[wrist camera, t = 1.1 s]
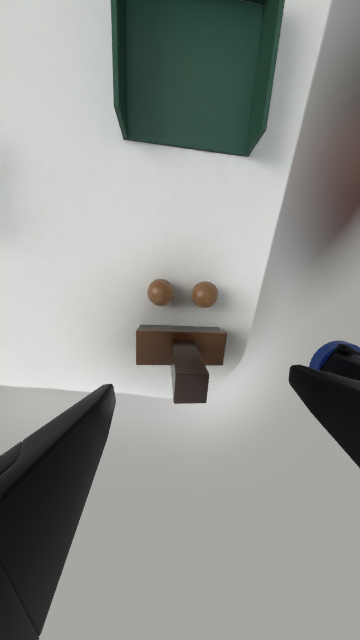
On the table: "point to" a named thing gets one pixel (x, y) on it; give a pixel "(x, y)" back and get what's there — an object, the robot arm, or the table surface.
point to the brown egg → (160, 292)
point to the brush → (182, 356)
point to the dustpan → (195, 71)
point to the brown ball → (205, 294)
